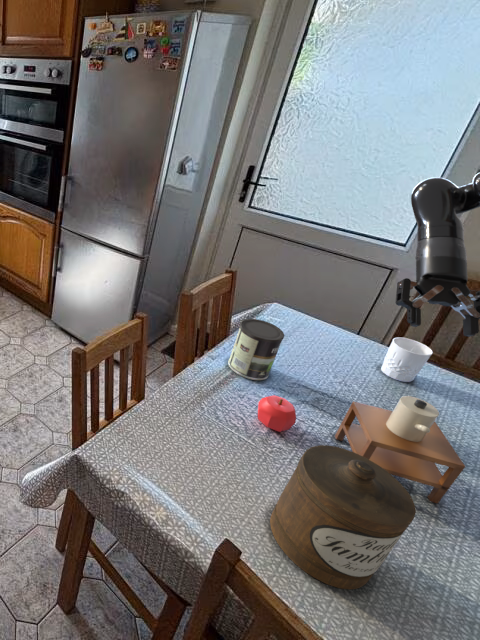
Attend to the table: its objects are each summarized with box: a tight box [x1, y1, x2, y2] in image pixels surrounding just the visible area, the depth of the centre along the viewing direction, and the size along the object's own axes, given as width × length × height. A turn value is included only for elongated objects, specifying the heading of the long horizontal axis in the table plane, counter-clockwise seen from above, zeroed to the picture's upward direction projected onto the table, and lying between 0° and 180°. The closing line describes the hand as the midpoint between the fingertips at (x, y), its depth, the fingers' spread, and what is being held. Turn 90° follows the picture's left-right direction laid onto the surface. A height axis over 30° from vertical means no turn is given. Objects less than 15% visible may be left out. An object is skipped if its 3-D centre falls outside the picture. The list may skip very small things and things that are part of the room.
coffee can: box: [227, 318, 285, 381], centre depth 118 cm, size 10×10×14 cm
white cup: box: [380, 336, 434, 383], centre depth 115 cm, size 8×8×10 cm
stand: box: [334, 400, 466, 504], centre depth 89 cm, size 14×12×11 cm
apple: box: [257, 394, 297, 433], centre depth 101 cm, size 8×8×8 cm
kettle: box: [386, 395, 440, 442], centre depth 84 cm, size 8×6×8 cm
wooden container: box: [269, 444, 417, 590], centre depth 72 cm, size 15×15×22 cm
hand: (442, 330), depth 88 cm, fingers open, 8 cm apart
